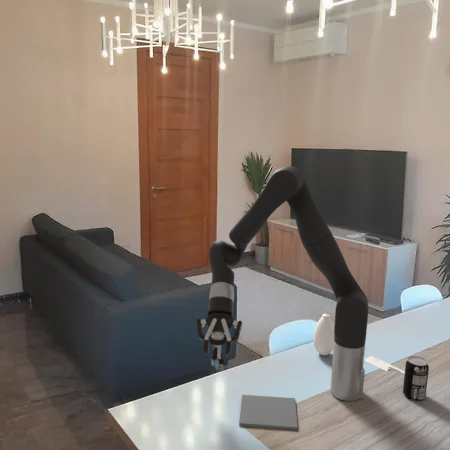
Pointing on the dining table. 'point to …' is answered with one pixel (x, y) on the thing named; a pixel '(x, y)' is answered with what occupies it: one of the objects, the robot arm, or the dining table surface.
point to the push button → (217, 349)
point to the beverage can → (415, 378)
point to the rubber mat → (268, 412)
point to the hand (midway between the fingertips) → (216, 354)
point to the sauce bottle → (324, 335)
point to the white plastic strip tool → (382, 364)
